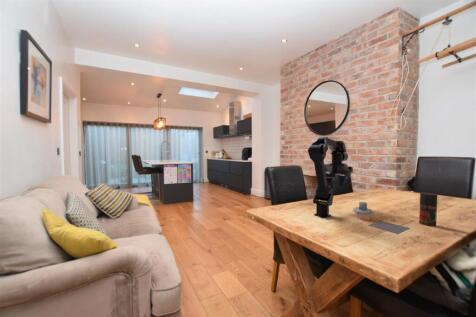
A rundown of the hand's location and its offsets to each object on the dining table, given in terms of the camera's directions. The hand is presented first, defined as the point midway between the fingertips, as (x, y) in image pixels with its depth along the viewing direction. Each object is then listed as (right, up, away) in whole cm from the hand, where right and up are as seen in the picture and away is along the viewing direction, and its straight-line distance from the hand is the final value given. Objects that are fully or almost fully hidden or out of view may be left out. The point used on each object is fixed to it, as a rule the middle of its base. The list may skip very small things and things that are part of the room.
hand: (336, 188), depth 128 cm
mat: (+9, -14, -31) cm, 35 cm away
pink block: (+5, -13, -19) cm, 23 cm away
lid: (+5, -10, -19) cm, 22 cm away
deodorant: (+29, -14, -28) cm, 43 cm away
